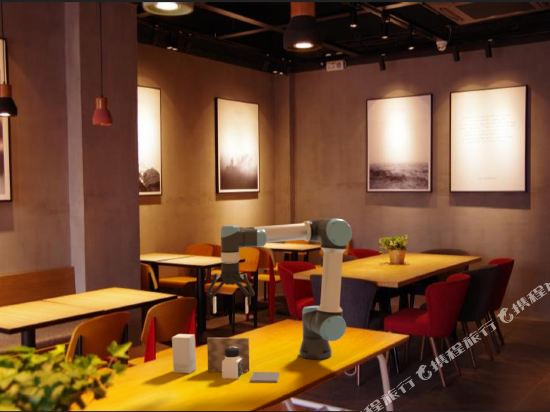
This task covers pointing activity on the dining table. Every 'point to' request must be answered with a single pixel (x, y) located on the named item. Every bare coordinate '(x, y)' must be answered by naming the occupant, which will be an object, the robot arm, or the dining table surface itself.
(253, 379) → the coaster
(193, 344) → the skincare box
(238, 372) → the medicine bottle
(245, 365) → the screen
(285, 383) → the dining table surface
